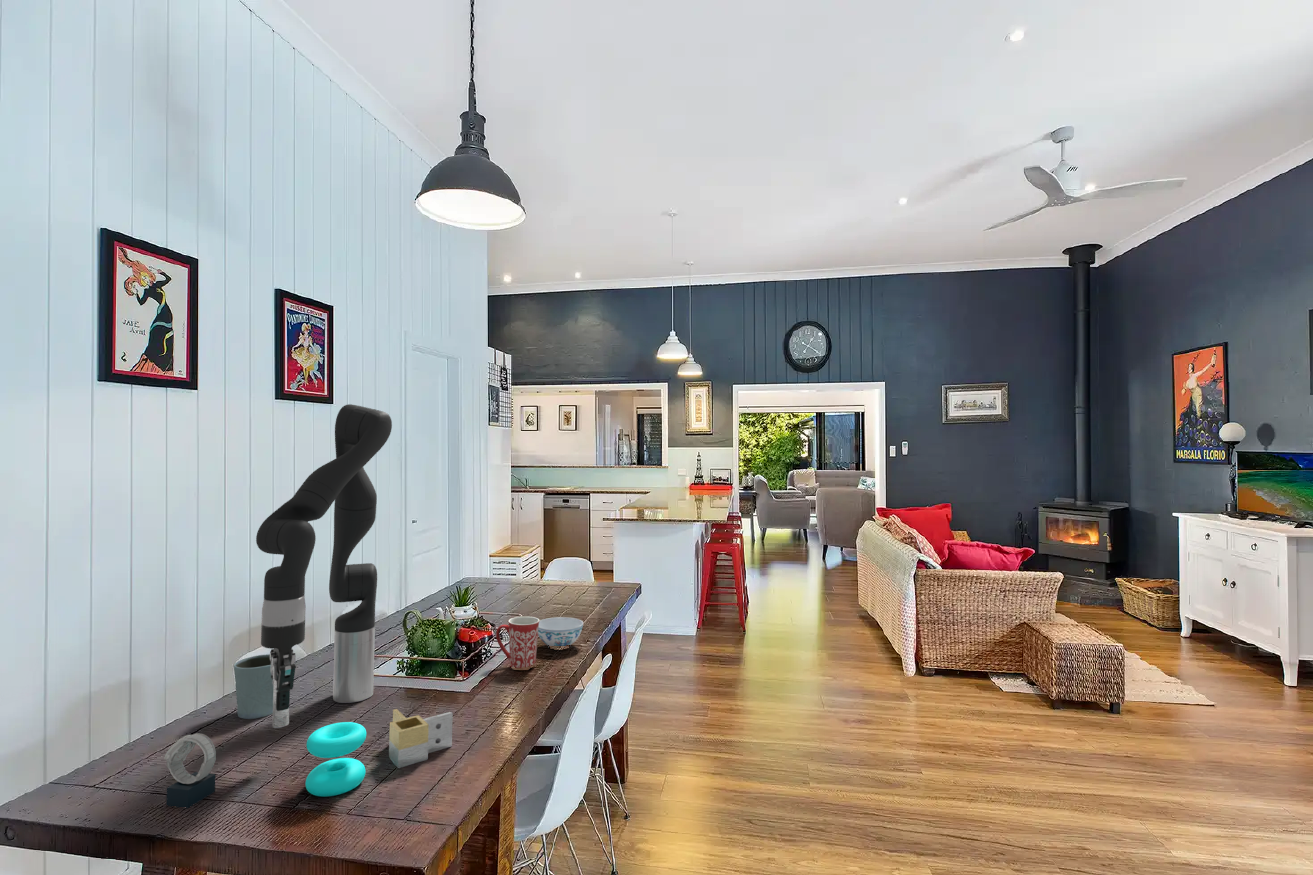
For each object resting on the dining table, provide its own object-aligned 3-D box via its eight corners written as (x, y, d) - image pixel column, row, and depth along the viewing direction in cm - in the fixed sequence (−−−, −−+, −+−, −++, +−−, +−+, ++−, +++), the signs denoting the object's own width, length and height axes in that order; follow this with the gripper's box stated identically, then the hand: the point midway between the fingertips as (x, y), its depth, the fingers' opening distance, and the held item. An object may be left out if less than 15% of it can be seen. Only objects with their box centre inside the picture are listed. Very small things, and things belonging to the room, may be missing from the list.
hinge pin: (269, 723, 125) (271, 663, 125) (289, 719, 127) (290, 660, 127) (272, 730, 122) (273, 668, 122) (291, 725, 124) (293, 664, 125)
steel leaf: (388, 757, 128) (389, 722, 128) (445, 740, 135) (446, 707, 135) (398, 768, 123) (399, 732, 123) (456, 750, 131) (457, 716, 131)
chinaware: (579, 655, 193) (579, 630, 193) (530, 654, 193) (531, 629, 194) (585, 640, 208) (586, 617, 208) (540, 640, 208) (540, 616, 208)
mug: (543, 662, 186) (543, 617, 186) (532, 673, 177) (533, 625, 177) (502, 660, 188) (503, 614, 188) (490, 670, 179) (491, 622, 179)
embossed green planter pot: (288, 711, 149) (290, 660, 149) (238, 724, 142) (240, 671, 142) (275, 699, 156) (276, 651, 156) (227, 711, 149) (228, 660, 149)
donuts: (367, 716, 124) (366, 737, 114) (366, 767, 123) (364, 793, 114) (309, 724, 120) (303, 747, 110) (308, 777, 119) (302, 804, 110)
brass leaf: (379, 746, 132) (380, 712, 132) (407, 738, 136) (408, 705, 136) (398, 768, 123) (399, 732, 123) (427, 759, 127) (428, 724, 127)
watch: (185, 788, 115) (187, 727, 115) (223, 792, 114) (225, 731, 114) (156, 804, 109) (158, 741, 110) (195, 809, 108) (197, 745, 108)
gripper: (311, 625, 122) (309, 714, 122) (298, 608, 133) (296, 690, 133) (266, 631, 117) (264, 724, 117) (257, 614, 128) (254, 699, 128)
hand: (281, 706), depth 125 cm, fingers closed on hinge pin, 2 cm apart
